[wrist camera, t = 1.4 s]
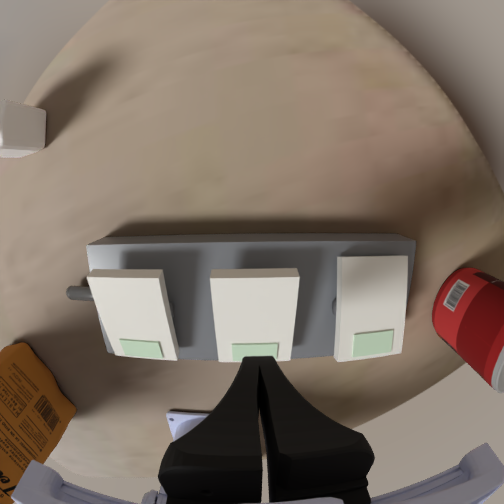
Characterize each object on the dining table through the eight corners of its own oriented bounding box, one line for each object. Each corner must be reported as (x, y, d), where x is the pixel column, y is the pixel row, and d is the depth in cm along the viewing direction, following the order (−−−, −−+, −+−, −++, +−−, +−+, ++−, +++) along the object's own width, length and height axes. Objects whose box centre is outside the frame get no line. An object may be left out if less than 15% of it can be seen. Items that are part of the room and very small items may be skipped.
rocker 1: (181, 341, 21) (177, 362, 19) (123, 337, 21) (115, 356, 19) (166, 261, 18) (157, 279, 16) (99, 261, 17) (85, 278, 16)
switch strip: (383, 330, 24) (397, 347, 21) (84, 331, 23) (69, 347, 20) (397, 233, 21) (416, 241, 19) (66, 238, 21) (46, 246, 18)
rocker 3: (389, 344, 20) (402, 353, 17) (329, 351, 19) (338, 363, 17) (393, 255, 19) (408, 255, 17) (332, 256, 19) (342, 257, 17)
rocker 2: (286, 340, 21) (290, 362, 19) (220, 342, 21) (218, 363, 19) (294, 259, 18) (299, 278, 16) (213, 260, 18) (209, 279, 16)
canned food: (425, 344, 24) (483, 408, 14) (433, 272, 22) (514, 322, 12) (474, 325, 24) (533, 373, 14) (483, 259, 22) (558, 294, 12)
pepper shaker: (49, 108, 18) (-23, 89, 9) (47, 149, 19) (-30, 145, 10) (21, 120, 18) (-48, 109, 9) (19, 159, 19) (-53, 160, 10)
